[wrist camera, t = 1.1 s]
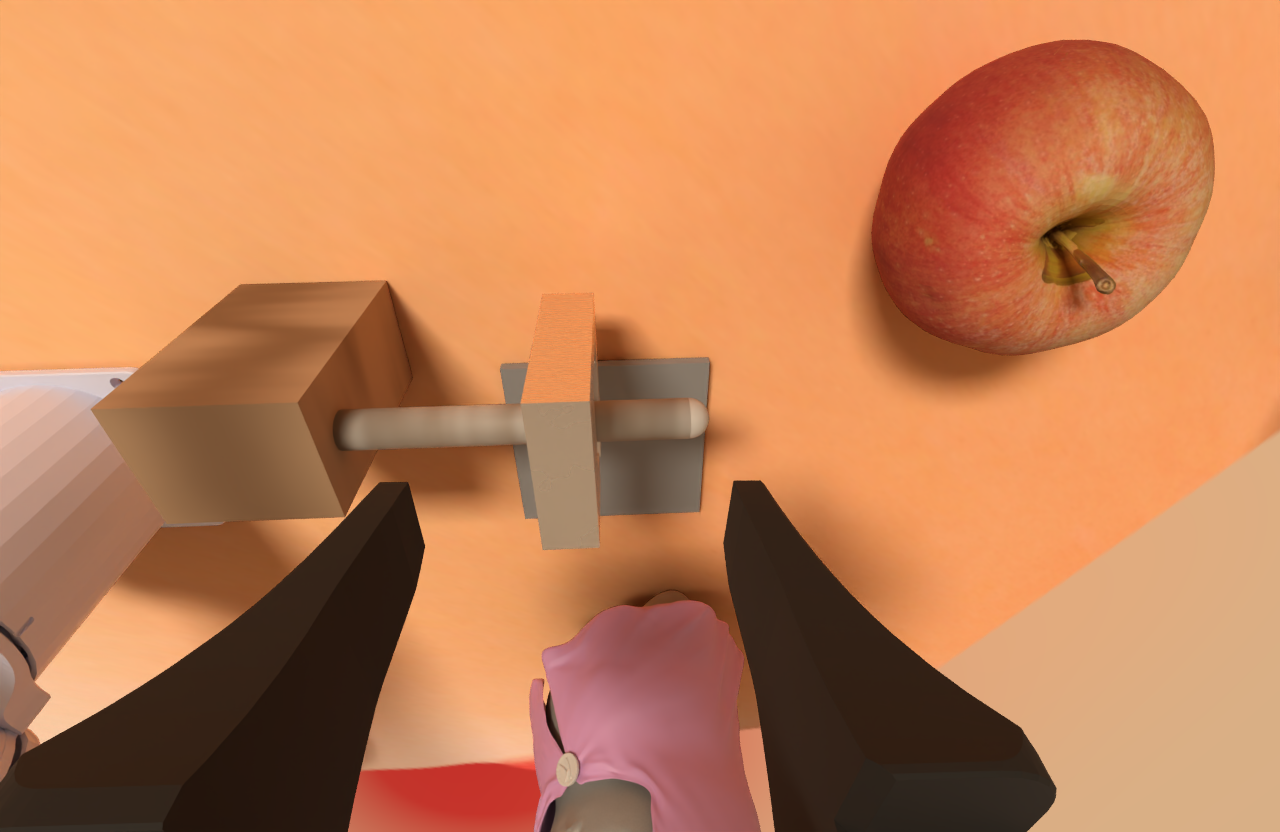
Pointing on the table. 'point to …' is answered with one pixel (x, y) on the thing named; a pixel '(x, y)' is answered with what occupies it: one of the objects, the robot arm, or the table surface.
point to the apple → (1043, 198)
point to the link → (564, 422)
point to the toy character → (642, 724)
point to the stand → (306, 407)
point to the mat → (634, 468)
